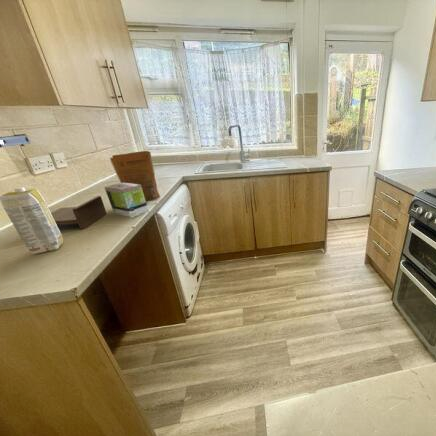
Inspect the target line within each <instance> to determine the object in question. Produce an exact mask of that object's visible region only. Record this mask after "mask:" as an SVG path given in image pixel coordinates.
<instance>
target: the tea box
mask: <svg viewBox="0 0 436 436" xmlns="http://www.w3.org/2000/svg"><path fill="white" fill-rule="evenodd" d="M104 190H105V193H106V195H107V199H108V201H109V205H110V207H111V209H112V211H113V214H116V215H119V216H123V217H127V218H130V219H132V218H135V217H138V216H140V215H142V214H144V213H147V212H149V207H148V204H147V201H146V200H145V197H144V194H143V191H142V187H141V185H140V184H133V183H125V182H123V183H121V182H119V183H115V184H111V185H107V186H104Z"/></svg>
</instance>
